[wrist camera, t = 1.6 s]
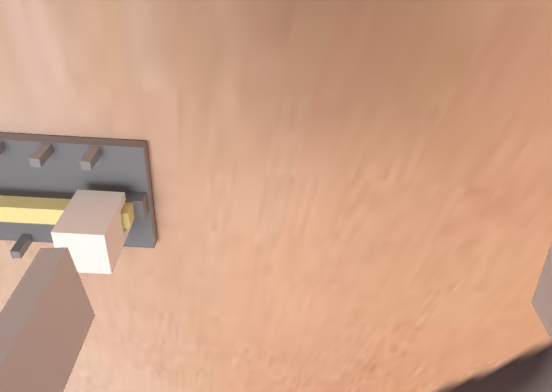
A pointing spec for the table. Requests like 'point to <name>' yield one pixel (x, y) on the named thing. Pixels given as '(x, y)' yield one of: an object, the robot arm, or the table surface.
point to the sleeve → (92, 230)
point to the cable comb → (70, 184)
